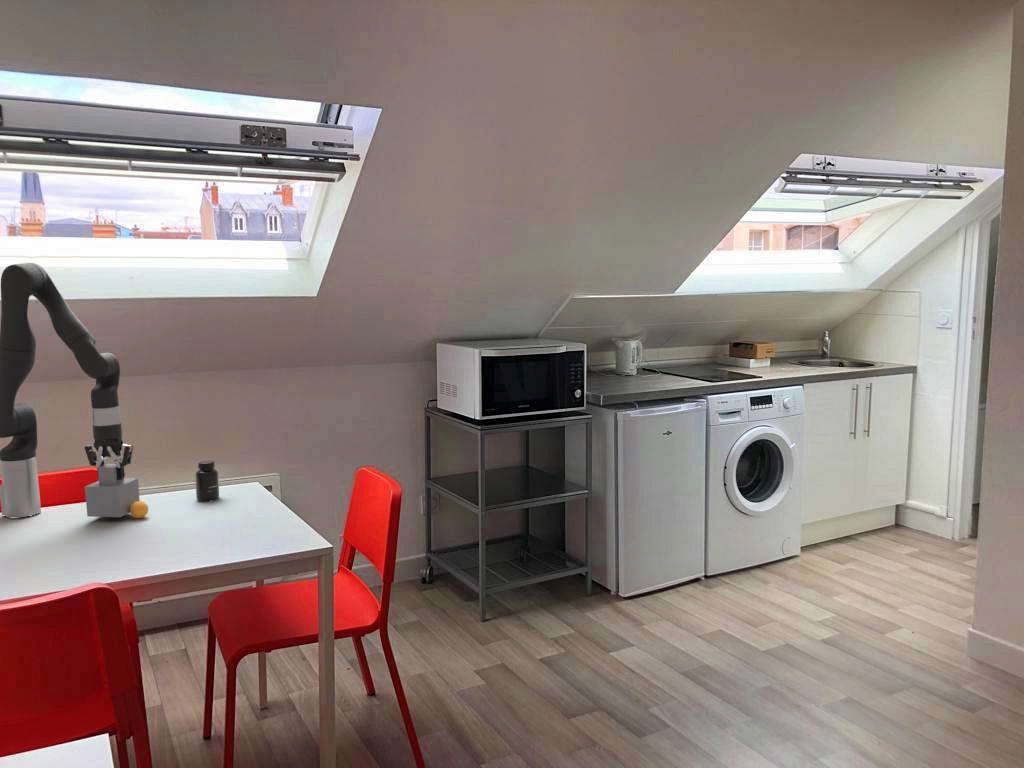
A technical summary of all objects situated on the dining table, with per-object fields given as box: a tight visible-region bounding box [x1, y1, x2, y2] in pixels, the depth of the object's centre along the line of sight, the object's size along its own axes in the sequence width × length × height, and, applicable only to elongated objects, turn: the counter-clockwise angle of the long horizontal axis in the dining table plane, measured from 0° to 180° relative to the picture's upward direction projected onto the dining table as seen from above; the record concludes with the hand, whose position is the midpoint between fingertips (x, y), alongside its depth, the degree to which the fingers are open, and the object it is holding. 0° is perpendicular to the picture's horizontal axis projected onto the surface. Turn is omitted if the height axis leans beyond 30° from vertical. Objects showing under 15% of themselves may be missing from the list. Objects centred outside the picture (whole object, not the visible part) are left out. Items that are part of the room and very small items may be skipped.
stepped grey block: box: [84, 463, 141, 518], centre depth 246 cm, size 10×10×14 cm
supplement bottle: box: [194, 460, 220, 502], centre depth 265 cm, size 7×7×12 cm
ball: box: [129, 500, 149, 519], centre depth 246 cm, size 5×5×5 cm
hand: (111, 479), depth 245 cm, fingers closed on stepped grey block, 4 cm apart
